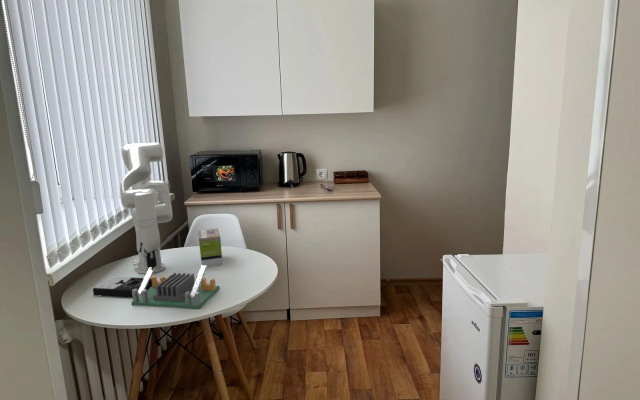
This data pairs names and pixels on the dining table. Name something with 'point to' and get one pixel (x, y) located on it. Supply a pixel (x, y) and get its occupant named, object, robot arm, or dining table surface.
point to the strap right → (198, 281)
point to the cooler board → (175, 292)
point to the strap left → (145, 281)
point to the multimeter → (119, 286)
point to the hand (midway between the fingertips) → (152, 266)
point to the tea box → (210, 247)
